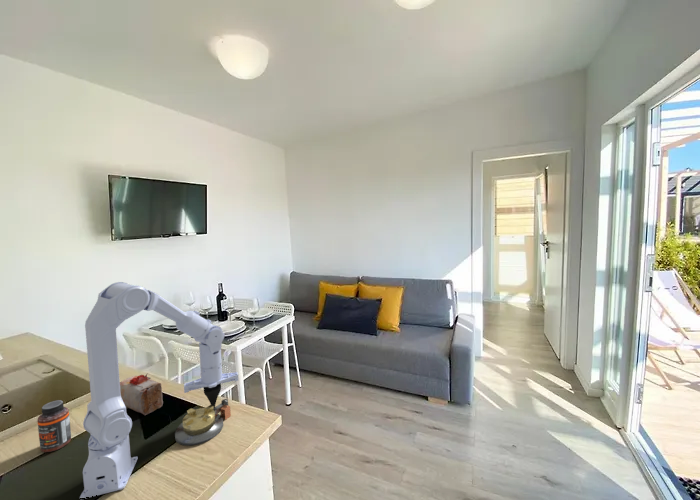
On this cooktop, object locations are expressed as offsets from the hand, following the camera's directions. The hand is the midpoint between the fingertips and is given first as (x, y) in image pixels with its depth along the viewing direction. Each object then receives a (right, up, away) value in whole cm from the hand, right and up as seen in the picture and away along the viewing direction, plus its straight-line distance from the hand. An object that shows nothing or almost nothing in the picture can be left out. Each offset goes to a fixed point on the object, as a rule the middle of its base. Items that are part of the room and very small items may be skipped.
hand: (213, 408), depth 91 cm
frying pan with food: (-1, -3, -5) cm, 6 cm away
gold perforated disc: (0, -1, -4) cm, 4 cm away
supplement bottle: (-36, -4, -11) cm, 38 cm away
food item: (-26, -3, +6) cm, 26 cm away
